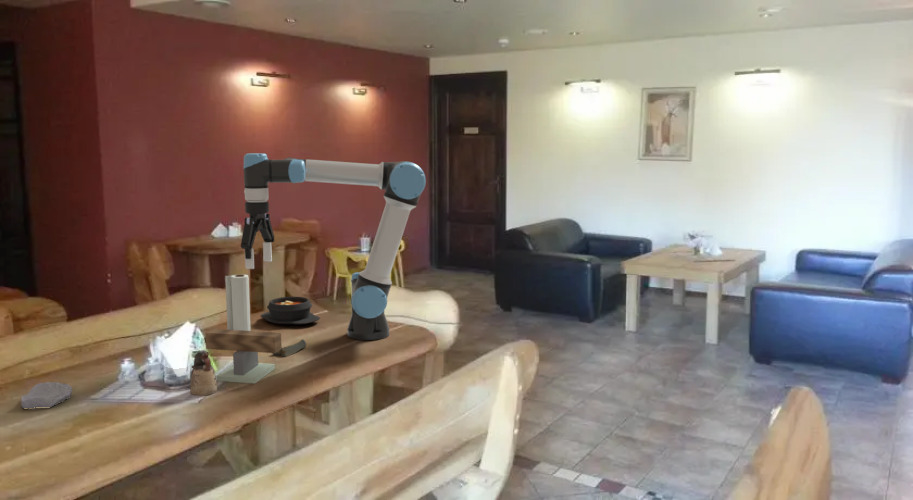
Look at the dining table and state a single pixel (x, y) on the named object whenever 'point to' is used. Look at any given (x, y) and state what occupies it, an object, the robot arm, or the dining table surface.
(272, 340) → the beam
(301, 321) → the casserole
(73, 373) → the dining table surface
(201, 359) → the figurine
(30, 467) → the dining table surface
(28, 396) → the stone block
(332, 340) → the dining table surface
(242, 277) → the paper towel roll
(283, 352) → the dark grey oblong piece
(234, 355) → the stand
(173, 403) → the dining table surface
